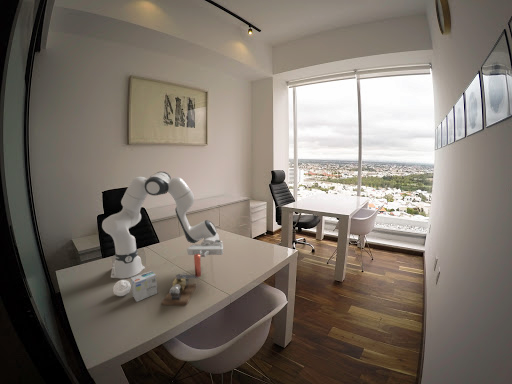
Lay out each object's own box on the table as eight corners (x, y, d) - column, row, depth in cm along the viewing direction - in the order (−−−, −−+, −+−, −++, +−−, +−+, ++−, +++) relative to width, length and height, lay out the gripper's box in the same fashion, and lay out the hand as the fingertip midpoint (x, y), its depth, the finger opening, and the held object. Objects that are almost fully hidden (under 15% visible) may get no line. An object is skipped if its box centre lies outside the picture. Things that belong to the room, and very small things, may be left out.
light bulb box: (153, 288, 126) (151, 270, 124) (158, 293, 121) (156, 274, 119) (132, 296, 118) (130, 277, 117) (136, 302, 114) (134, 282, 112)
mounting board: (174, 286, 127) (174, 283, 127) (196, 286, 127) (195, 284, 127) (162, 304, 111) (161, 302, 111) (186, 305, 111) (186, 302, 111)
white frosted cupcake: (114, 301, 115) (113, 286, 114) (113, 294, 121) (111, 280, 120) (132, 295, 119) (131, 281, 118) (130, 288, 125) (129, 275, 124)
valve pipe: (180, 284, 126) (179, 272, 125) (188, 284, 126) (188, 272, 125) (170, 300, 112) (169, 287, 111) (179, 300, 112) (178, 287, 111)
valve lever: (177, 277, 119) (176, 253, 117) (202, 277, 119) (200, 253, 117) (175, 280, 116) (173, 256, 114) (200, 280, 116) (199, 256, 114)
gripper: (191, 240, 138) (183, 250, 124) (224, 240, 137) (220, 250, 123) (191, 250, 139) (183, 261, 125) (225, 250, 138) (221, 261, 124)
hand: (202, 255), depth 124 cm, fingers closed
